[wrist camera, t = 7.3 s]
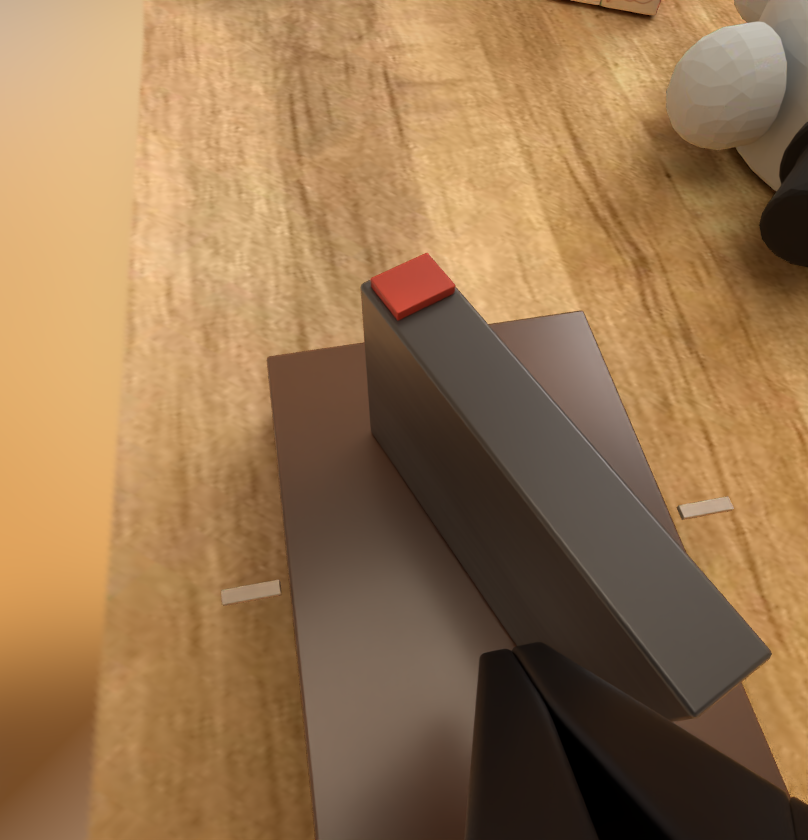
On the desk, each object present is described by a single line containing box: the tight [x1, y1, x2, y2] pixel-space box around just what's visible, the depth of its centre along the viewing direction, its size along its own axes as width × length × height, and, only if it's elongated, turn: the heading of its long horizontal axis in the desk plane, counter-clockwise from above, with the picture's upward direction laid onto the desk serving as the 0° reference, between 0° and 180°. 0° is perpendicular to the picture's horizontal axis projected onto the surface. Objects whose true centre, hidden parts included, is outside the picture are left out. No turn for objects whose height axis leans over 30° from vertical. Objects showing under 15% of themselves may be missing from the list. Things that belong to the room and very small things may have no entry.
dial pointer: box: [361, 253, 772, 722], centre depth 13 cm, size 9×2×6 cm, turn 32°
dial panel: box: [221, 311, 791, 840], centre depth 17 cm, size 14×13×3 cm
